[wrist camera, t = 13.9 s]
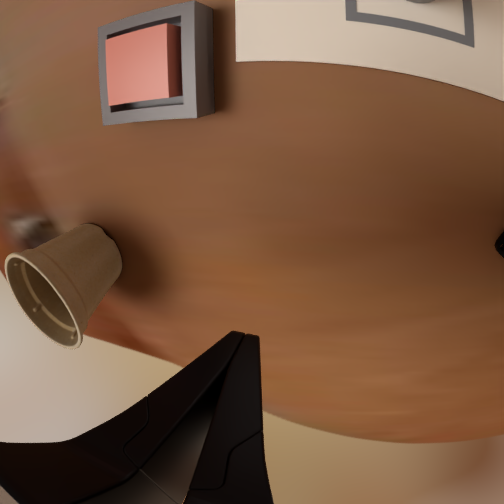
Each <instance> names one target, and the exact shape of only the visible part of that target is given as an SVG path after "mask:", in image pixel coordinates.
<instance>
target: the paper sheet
mask: <svg viewBox="0 0 504 504" xmlns="http://www.w3.org/2000/svg"><path fill="white" fill-rule="evenodd" d="M235 12H236V62H248V61H297V62H318V63H331V64H342V65H352V66H360V67H368V68H375V69H381V70H388V71H393V72H399V73H404V74H409V75H414V76H419V77H423V78H428V79H432V80H436V81H440V82H444V83H448V84H451V85H455V86H458V87H462V88H465V89H468V90H472V91H475V92H478V93H481V94H484V95H487V96H490V97H493V98H495V99H498V100H501V101H503V102H504V0H435V1H433V2H430V3H413V2H409V1H406V0H235Z"/></svg>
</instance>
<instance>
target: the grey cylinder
mask: <svg viewBox="0 0 504 504" xmlns="http://www.w3.org/2000/svg"><path fill="white" fill-rule="evenodd" d="M406 1H409V2H413V3H430V2H433V1H435V0H406Z"/></svg>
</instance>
